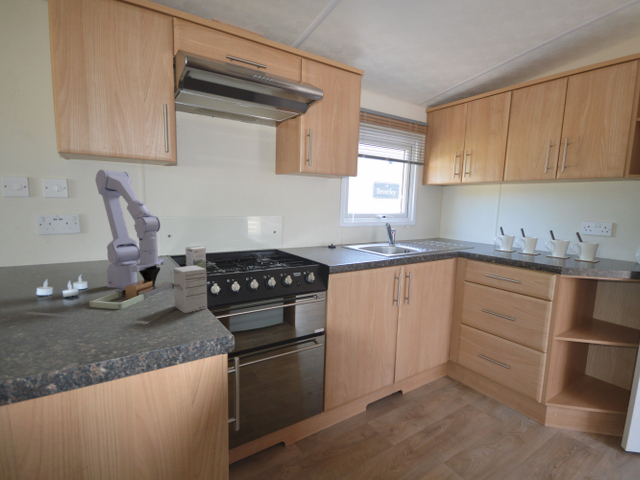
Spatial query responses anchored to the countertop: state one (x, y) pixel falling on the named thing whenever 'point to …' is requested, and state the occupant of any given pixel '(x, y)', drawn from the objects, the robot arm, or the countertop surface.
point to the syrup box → (196, 256)
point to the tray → (113, 305)
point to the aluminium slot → (149, 290)
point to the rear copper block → (146, 283)
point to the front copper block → (134, 289)
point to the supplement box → (190, 288)
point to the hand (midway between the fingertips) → (150, 287)
